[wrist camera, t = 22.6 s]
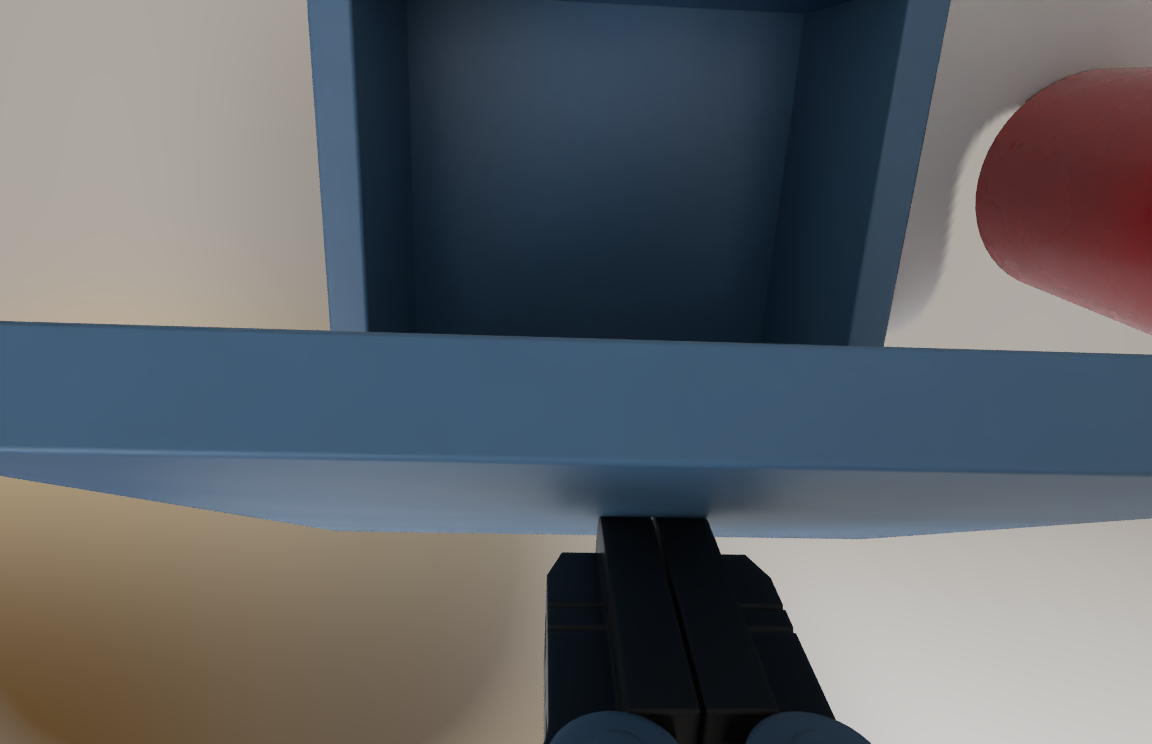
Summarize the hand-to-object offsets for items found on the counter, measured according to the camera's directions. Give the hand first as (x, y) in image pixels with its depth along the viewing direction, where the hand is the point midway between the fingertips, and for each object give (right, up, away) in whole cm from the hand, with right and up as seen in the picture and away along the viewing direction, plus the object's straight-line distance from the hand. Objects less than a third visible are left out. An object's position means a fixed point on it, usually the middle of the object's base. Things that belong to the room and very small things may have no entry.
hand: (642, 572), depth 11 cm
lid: (0, +2, 0) cm, 2 cm away
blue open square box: (0, +8, +11) cm, 13 cm away
